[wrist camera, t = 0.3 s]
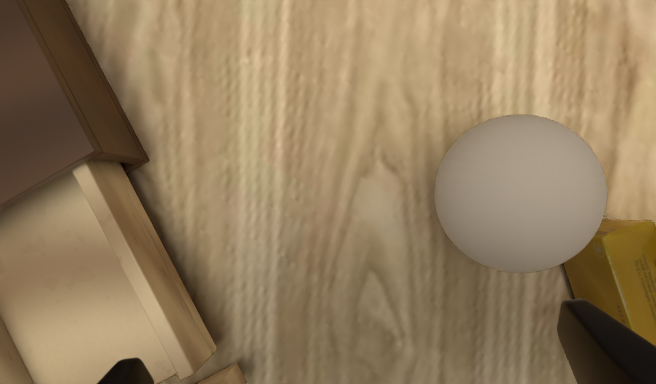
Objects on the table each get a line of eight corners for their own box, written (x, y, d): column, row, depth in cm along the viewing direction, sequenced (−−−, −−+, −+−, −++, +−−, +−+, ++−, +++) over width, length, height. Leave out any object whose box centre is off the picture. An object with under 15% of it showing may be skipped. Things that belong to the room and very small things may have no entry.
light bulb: (478, 118, 24) (566, 59, 14) (547, 205, 23) (689, 211, 13) (390, 184, 24) (413, 175, 14) (457, 272, 24) (530, 326, 14)
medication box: (671, 435, 23) (748, 485, 19) (623, 453, 23) (690, 506, 19) (597, 214, 23) (658, 217, 19) (549, 231, 23) (599, 237, 19)
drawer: (284, 453, 23) (271, 500, 20) (107, 545, 24) (63, 606, 20) (107, 115, 24) (64, 100, 21) (-60, 211, 25) (-130, 213, 21)
